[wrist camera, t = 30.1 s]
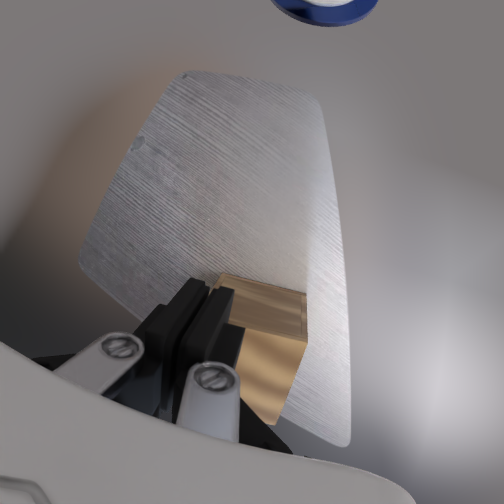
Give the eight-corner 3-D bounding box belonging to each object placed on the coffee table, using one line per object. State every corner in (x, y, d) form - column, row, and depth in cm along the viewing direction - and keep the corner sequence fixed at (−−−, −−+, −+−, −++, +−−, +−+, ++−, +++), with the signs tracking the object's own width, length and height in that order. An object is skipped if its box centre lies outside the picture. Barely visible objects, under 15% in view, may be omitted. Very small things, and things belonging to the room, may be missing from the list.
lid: (275, 421, 39) (275, 425, 38) (185, 397, 40) (183, 401, 39) (307, 338, 35) (307, 342, 34) (197, 310, 35) (195, 313, 35)
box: (282, 366, 51) (276, 418, 39) (208, 346, 51) (185, 394, 40) (306, 293, 46) (307, 338, 35) (222, 272, 47) (197, 310, 36)
